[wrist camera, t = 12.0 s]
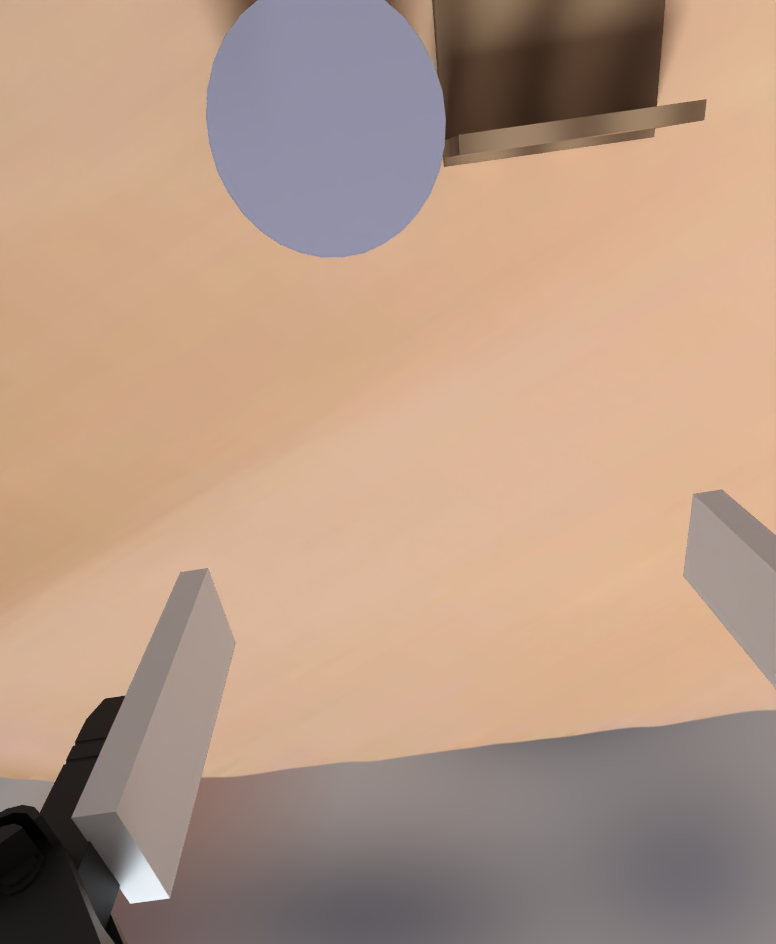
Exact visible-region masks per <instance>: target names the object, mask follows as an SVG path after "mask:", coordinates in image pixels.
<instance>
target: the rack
mask: <svg viewBox="0 0 776 944" xmlns="http://www.w3.org/2000/svg"><path fill="white" fill-rule="evenodd" d="M432 1H433V15H434V29H435V44H436V58H437V72H438V79H439V82H440V85H441V88H442V91H443V100H444V108H445V117H446V125H445V147H444V151H443V158H444V167H447V166H454V165H461V164H468V163H475V162H482V161H489V160H496V159H503V158H510V157H517V156H524V155H531V154H538V153H545V152H552V151H559V150H566V149H573V148H580V147H587V146H594V145H601V144H608V143H615V142H622V141H629V140H636V139H643V138H651V137H654V133H655V128H660V127H666V126H672V125H678V124H684V123H690V122H696V121H702V120H704V117H705V109H706V100H707V99H706V100H699V101H692V102H685V103H678V104H671V105H664V106H657V96H658V83H659V71H660V59H661V46H662V34H663V22H664V9H665V0H432Z"/></svg>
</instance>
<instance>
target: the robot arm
mask: <svg viewBox="0 0 776 944" xmlns="http://www.w3.org/2000/svg"><path fill="white" fill-rule="evenodd" d="M683 576H684V578H685V579H686V580H687V581H688V582H689V584H690V585H691V586H692V587H693V588H694V590H695V591H696V592H697V593H698V595H699V596H700V597H701V598H702V599H703V601H704V602H705V603H706V604H707V606H708V607H709V608H710V609H711V610H712V612H713V613H714V614H715V615H716V617H717V618H718V619H719V620H720V621H721V623H722V624H723V625H724V626H725V627H726V629H727V630H728V631H729V632H730V634H731V635H732V636H733V637H734V638H735V640H736V641H737V642H738V643H739V645H740V646H741V647H742V648H743V649H744V651H745V652H746V653H747V654H748V655H749V657H750V658H751V659H752V660H753V662H754V663H755V664H756V665H757V666H758V668H759V669H760V670H761V671H762V673H763V674H764V675H765V676H766V677H767V679H768V680H769V681H770V682H771V684H772V685H773V686H774V687H775V688H776V535H775V534H773V533H772V532H771V531H770V530H769V529H768V528H766V527H765V526H764V525H763V524H762V523H761V522H759V521H758V520H757V519H756V518H755V517H754V516H752V515H751V514H750V513H749V512H748V511H746V510H745V509H744V508H743V507H742V506H741V505H739V504H738V503H737V502H736V501H735V500H734V499H732V498H731V497H730V496H729V495H728V494H727V493H725V492H724V491H723V490H716V491H710V492H703V493H697V494H693V499H692V507H691V515H690V524H689V532H688V541H687V549H686V557H685V566H684V574H683ZM235 644H236V642H235V640H234V637H233V634H232V631H231V629H230V626H229V623H228V621H227V618H226V615H225V613H224V610H223V607H222V604H221V602H220V599H219V596H218V594H217V591H216V588H215V586H214V583H213V580H212V578H211V575H210V572H209V569H208V568H206V569H200V570H193V571H187V572H180V574H179V577H178V579H177V581H176V583H175V586H174V588H173V590H172V592H171V595H170V597H169V599H168V601H167V604H166V606H165V608H164V610H163V613H162V615H161V617H160V619H159V622H158V624H157V626H156V628H155V631H154V633H153V635H152V637H151V640H150V642H149V644H148V646H147V649H146V651H145V653H144V655H143V658H142V660H141V662H140V664H139V667H138V669H137V671H136V673H135V676H134V678H133V680H132V682H131V685H130V687H129V689H128V691H127V694H126V696H120V697H113V698H106V699H104V700H103V701H102V702H101V704H100V705H99V706H98V707H97V708H96V709H95V710H94V711H93V712H92V714H91V715H90V716H89V717H88V718H87V719H86V721H85V723H84V725H83V727H82V729H81V731H80V733H79V735H78V737H77V739H76V741H75V746H73V747H72V749H71V751H70V753H69V755H68V757H67V759H66V764H65V765H63V767H62V769H61V771H60V773H59V775H58V777H57V779H56V781H55V783H54V785H53V787H52V789H51V791H50V793H49V795H48V797H47V799H46V801H45V803H44V805H43V807H42V809H41V811H40V813H39V812H38V811H37V810H36V808H34V807H31V806H26V805H20V806H17V807H12V808H8V809H6V810H4V811H2V812H0V944H127V941H126V939H125V937H124V935H123V932H122V930H121V928H120V925H119V923H118V921H117V918H116V917H115V916H114V914H113V913H112V908H113V905H114V902H115V899H116V896H117V893H118V890H119V888H120V889H121V891H122V892H123V894H124V895H125V897H126V898H127V899H128V901H129V902H130V903H138V902H145V901H153V900H160V899H167V898H170V895H171V891H172V888H173V884H174V880H175V876H176V872H177V868H178V864H179V861H180V856H181V853H182V849H183V845H184V841H185V837H186V833H187V830H188V826H189V822H190V818H191V814H192V810H193V806H194V803H195V798H196V795H197V791H198V787H199V783H200V779H201V775H202V772H203V768H204V764H205V760H206V756H207V752H208V748H209V745H210V741H211V737H212V733H213V729H214V725H215V721H216V717H217V714H218V710H219V706H220V702H221V698H222V694H223V690H224V686H225V683H226V679H227V675H228V671H229V667H230V663H231V659H232V656H233V652H234V648H235Z"/></svg>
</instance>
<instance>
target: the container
mask: <svg viewBox="0 0 776 944" xmlns="http://www.w3.org/2000/svg"><path fill="white" fill-rule="evenodd" d="M206 120H207V128H208V136H209V144H210V148H211V151H212V155H213V158H214V162H215V165H216V168H217V171H218V173H219V175H220V177H221V179H222V181H223V183H224V185H225V187H226V189H227V191H228V193H229V195H230V196H231V198H232V199H233V200H234V202H235V203H236V205H237V206H238V207H239V209H240V210H241V212H242V213H243V214H244V215H245V216H246V217H247V218H248V219H249V220H250V221H251V222H252V223H253V224H254V225H255V226H256V227H257V228H258V229H259V230H260V231H261V232H263V233H264V234H266V235H267V236H268V237H270V238H271V239H273V240H274V241H276V242H277V243H279V244H280V245H283V246H285V247H288V248H290V249H292V250H295V251H297V252H299V253H303V254H308V255H313V256H318V257H347V256H352V255H357V254H362V253H365V252H367V251H370V250H372V249H374V248H376V247H378V246H380V245H383V244H384V243H386V242H387V241H389V240H390V239H391V238H393V237H394V236H396V235H397V234H398V233H400V232H401V231H402V230H403V229H404V228H405V227H406V226H407V225H408V224H409V223H410V222H411V221H412V219H413V218H414V217H415V216H416V215H417V214H418V212H419V211H420V209H421V208H422V206H423V205H424V203H425V201H426V200H427V198H428V197H429V195H430V193H431V191H432V188H433V186H434V183H435V181H436V178H437V176H438V173H439V170H440V165H441V161H442V156H443V151H444V147H445V125H446V117H445V108H444V100H443V91H442V88H441V85H440V82H439V79H438V75H437V72H436V69H435V66H434V63H433V61H432V60H431V58H430V56H429V54H428V52H427V50H426V48H425V46H424V44H423V42H422V40H421V38H420V37H419V36H418V34H417V33H416V32H415V31H414V29H413V28H412V27H411V25H410V24H409V23H408V21H407V20H406V19H405V18H404V17H403V16H402V15H401V14H400V13H399V12H398V11H397V10H395V9H394V8H393V7H392V6H391V5H390V4H389V3H387V2H386V1H385V0H257V1H256V2H255V3H254V4H252V5H251V6H250V7H249V8H248V9H247V10H246V11H244V12H243V13H242V14H241V15H240V16H239V18H238V19H237V21H236V22H235V23H234V25H233V26H232V28H231V29H230V30H229V32H228V33H227V34H226V36H225V38H224V40H223V42H222V44H221V46H220V49H219V51H218V53H217V55H216V58H215V60H214V62H213V67H212V71H211V76H210V80H209V84H208V89H207V109H206Z"/></svg>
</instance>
